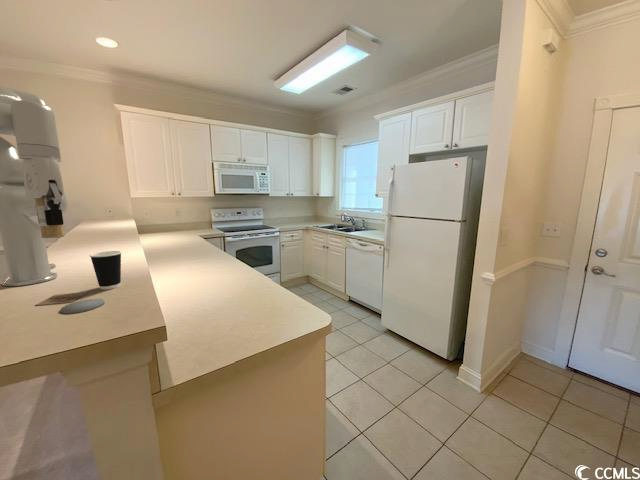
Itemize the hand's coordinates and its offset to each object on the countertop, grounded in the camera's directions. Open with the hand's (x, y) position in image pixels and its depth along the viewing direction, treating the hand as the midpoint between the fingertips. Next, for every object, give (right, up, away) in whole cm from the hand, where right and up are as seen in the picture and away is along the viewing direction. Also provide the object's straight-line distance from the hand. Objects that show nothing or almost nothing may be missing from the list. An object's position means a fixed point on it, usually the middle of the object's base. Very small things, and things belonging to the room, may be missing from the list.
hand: (51, 224), depth 70 cm
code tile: (0, -21, +3) cm, 21 cm away
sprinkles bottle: (0, -4, +1) cm, 4 cm away
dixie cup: (+5, -20, +13) cm, 24 cm away
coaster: (+11, -22, -2) cm, 24 cm away
